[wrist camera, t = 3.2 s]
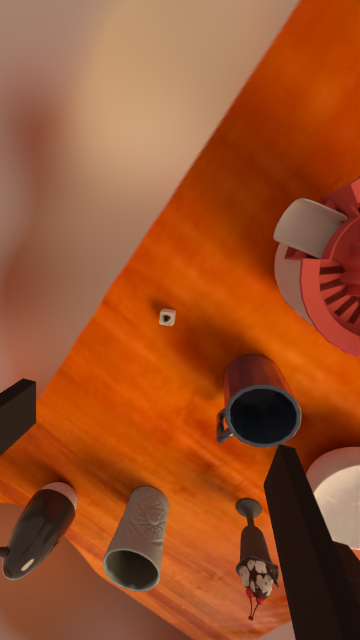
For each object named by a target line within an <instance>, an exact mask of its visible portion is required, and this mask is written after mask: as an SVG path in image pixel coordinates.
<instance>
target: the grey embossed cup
mask: <svg viewBox="0 0 360 640" xmlns="http://www.w3.org/2000/svg"><path fill="white" fill-rule="evenodd" d="M168 508H169V504H168V500H167V498H166V496H165V495H164V494H163V493H162V492H161V491H159V490H157V489H155V488H152V487H146V486H145V487H139V488H137V489H136V490H134V491H133V493H132V495H131V497H130V499H129V501H128V504H127V507H126V509H125V511H124V514H123V517H122V518H121V520H120V523H119V525H118V527H117V530H116V532H115V535H114V537H113V539H112V541H111V543H110V545H109V547H108V549H107V552H106V554H105V556H104V559H103V569H104V571H105V573H106V575H107V576H108V577H109V578H110V579H111V580H112V581H113V582H114V583H115V584H117V585H119V586H120V587H122V588H125V589H127V590H131V591H138V592H142V591H147V590H150V589H152V588H154V586H156V585H157V583H158V582H159V578H160V571H161V561H162V552H163V539H164V536H165V525H166V522H167V516H168Z"/></svg>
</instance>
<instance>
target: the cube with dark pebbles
mask: <svg viewBox="0 0 360 640" xmlns="http://www.w3.org/2000/svg"><path fill="white" fill-rule="evenodd" d="M175 313H176V310H172V309H164V308H163V309H162V310H161V311H160V321H159V325H167V326H173V324H174V323H175Z"/></svg>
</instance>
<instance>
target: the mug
mask: <svg viewBox="0 0 360 640" xmlns="http://www.w3.org/2000/svg"><path fill="white" fill-rule="evenodd" d="M223 383H224V405H225V408H223V409H222V410H221V411H220V412H219V413H218V414H217V442H218V443H220V444H222V443H224V442H225V441H226V440H228V439H229V438H230V437H232V436H233V435H234V436H235V437H236V438H238V439H239V440H240V441H241V442H244V443H246V444H249V445H251V446H255V447H268V448H269V447H273V446H277V445H279V444H283V443H285V442H286V441H288V440H289V439H291V438H292V437H293V436H294V435H295V434H296V432H297V430H298V429H299V427H300V425H301V415H302V412H301V409H300V407H299V405H298V402H297V400H296V398H295V396H294V395H293V393H292V391H291V389H290V387H289V385H288V384H287V382H286V380H285V378H284V376H283V374H282V372H281V371H280V369H279V367H278V366H277V365H276V364H275V363H274V362H273V361H272V360H270V359H269V358H267V357H264V356H261V355H255V354H250V355H244V356H241V357H238V358H237V359H235V360H233V361H232V362H231V363H230V364H229V365H228V367H227V368H226V370H225V373H224V377H223ZM224 418H225V422H226V424H227V426H228V428H227V429H226V430H224Z"/></svg>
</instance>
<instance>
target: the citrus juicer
mask: <svg viewBox="0 0 360 640" xmlns="http://www.w3.org/2000/svg"><path fill="white" fill-rule="evenodd" d="M273 238H274V240H275V241H278V242H280V244H279V246H278V248H277V252H276V256H275V263H274V272H275V280H276V283H277V285H278V288H279V291H280V293H281V295H282V296H283V298H284V300H285V301H286V303H287V304H288V305H289V306H290V307H291V308H292V309H293V310H294V311H295V312H296V313H297V314H298V315H299V316H301V317H302V318H303V319H305V320H306V321H307V322H309V323H310V324H311V325H313V326H314V327H315V328H316V330H317V331H318V332H319V333H320V334H321V335H322V336H323V337H324V338H325V339H326V340H327V341H328V342H329V343H331V344H332V345H334V346H336V347H337V348H339V349H340V350H342V351H343V352H346V353H348V354H351V355H353V356H356V357H358V358H360V177H358V178H357V179H355V180H354V181H352V182H351V183H349V184H347V185H345V186H344V187H342V188H340V189H338V190H336V191H334V192H333V193H331V194H329V195H327V196H325V197H323V198H321V199H320V200H319V201H318V202H314V201H312V200H309V199H305V198H300V199H297V200H296V201H294V202H293V203H292V204H291V205H290V206H289V207H288V208H287V209H286V211H285V212H284V214H283V215H282V217H281V218H280V220H279V222H278V224H277V226H276V228H275V231H274V235H273Z"/></svg>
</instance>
